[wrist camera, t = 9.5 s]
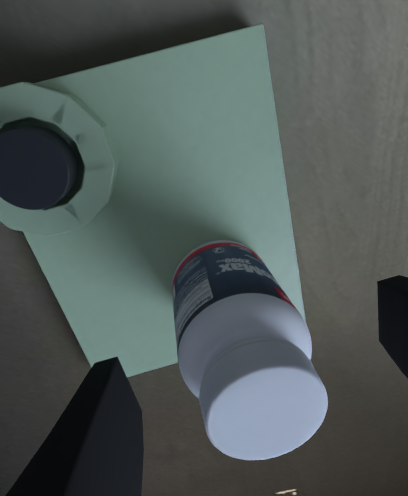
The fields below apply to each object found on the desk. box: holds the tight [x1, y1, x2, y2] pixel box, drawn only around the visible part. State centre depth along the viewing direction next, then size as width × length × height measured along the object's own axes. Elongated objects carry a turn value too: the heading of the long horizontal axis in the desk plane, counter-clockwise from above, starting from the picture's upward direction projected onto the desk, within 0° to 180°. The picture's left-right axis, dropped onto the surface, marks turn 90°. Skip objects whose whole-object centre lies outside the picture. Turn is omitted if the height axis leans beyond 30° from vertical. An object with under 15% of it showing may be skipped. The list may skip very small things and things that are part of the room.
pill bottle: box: [172, 240, 328, 460], centre depth 14 cm, size 5×5×9 cm
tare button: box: [0, 126, 78, 210], centre depth 13 cm, size 3×3×2 cm
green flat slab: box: [0, 23, 306, 377], centre depth 17 cm, size 16×13×3 cm
